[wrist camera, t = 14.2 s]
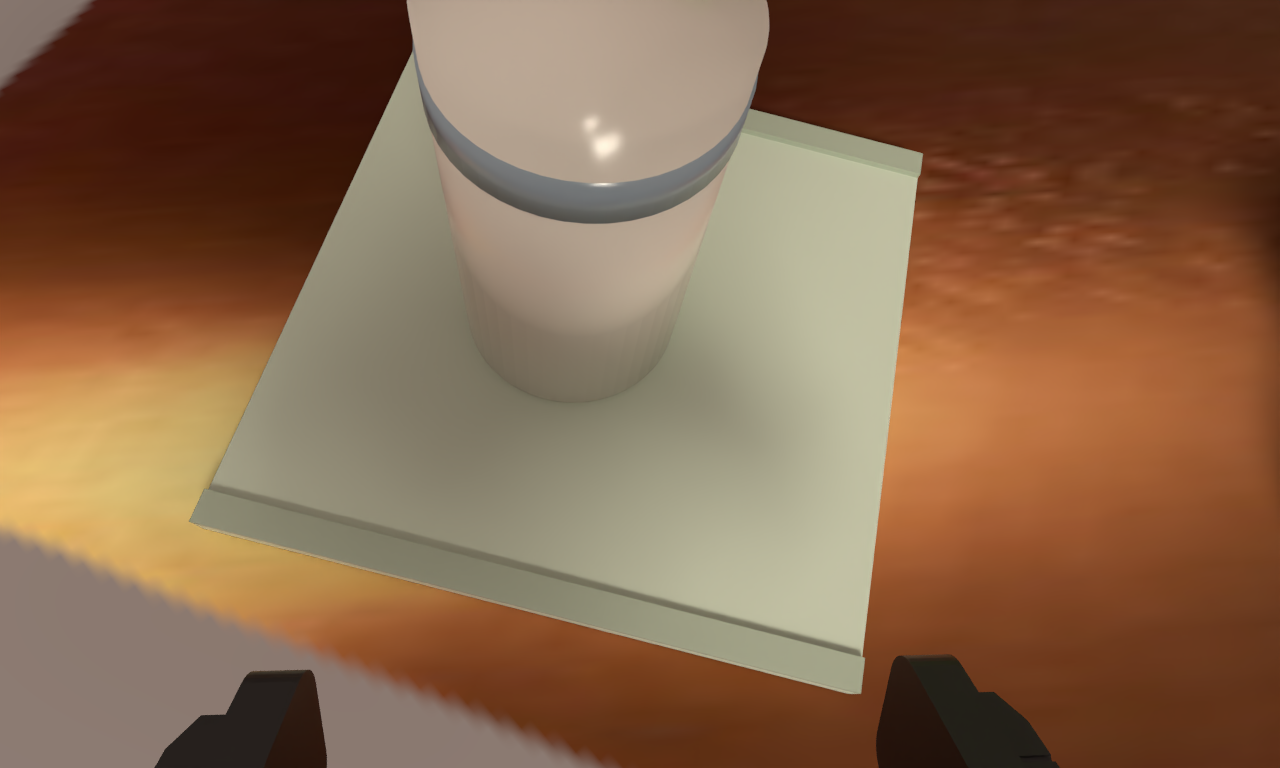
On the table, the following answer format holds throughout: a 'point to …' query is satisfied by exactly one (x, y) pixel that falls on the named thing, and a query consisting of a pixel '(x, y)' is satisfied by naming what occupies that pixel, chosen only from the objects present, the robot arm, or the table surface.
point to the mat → (603, 415)
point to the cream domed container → (582, 170)
